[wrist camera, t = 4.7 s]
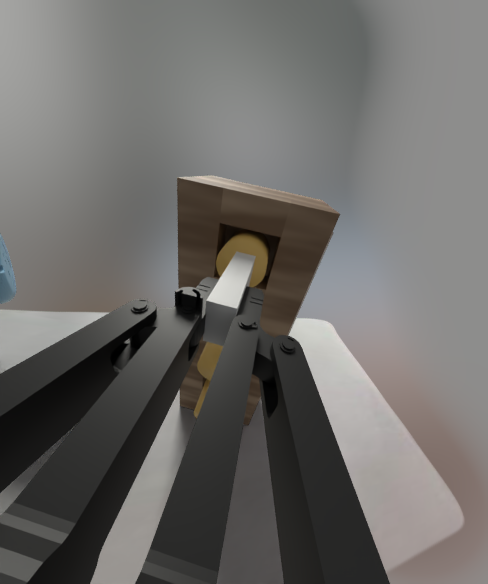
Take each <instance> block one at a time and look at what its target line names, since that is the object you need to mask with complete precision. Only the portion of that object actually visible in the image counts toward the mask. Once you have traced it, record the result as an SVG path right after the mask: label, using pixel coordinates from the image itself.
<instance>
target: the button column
mask: <svg viewBox="0 0 488 584" xmlns="http://www.w3.org/2000/svg"><path fill="white" fill-rule="evenodd" d="M177 186H178V187H177V195H178V279H179V288H182V287H194V288H196V287H197V286H198V285H199V283H200V282H201V281H202V280H203V279H205V278H207V277H211V278H215V279H218V280H219V279H220V276H219V274H218V271H217V268H216V260H217V256H218V254H219V252H220V251H221V249H222V248H223V247H224V246H225V244H226V243H227V242H228V241H229V239H230V238H231V237H232V236H233V235H234V234H235V233H236V232H237V231H239V230H242V229H248V230H252V231H256V232H260V233H262V234H263V235H264V236H265V238H266V239H267V241H268V243H269V248H270V251H269V257H268V263H267V268H266V273H265V276H264V278H263V280H262V281H261V282H260V283H259V284H258V285H256V286H254V287H252V288H256V289H260V290H262V291H263V294H264V300H263V305H262V311H261V317H260V326H261V328H262V329H263V330H264V331H265V332H266V333H267V334H269V335H270V336H272V337H274V338H275V337H276V336H278V335H287V336H288V335H289V333H290V331H291V328H292V326H293V324H294V321H295V319H296V317H297V315H298V312H299V310H300V308H301V305H302V303H303V301H304V299H305V296H306V294H307V292H308V290H309V287H310V285H311V283H312V280H313V278H314V276H315V274H316V271H317V269H318V267H319V264H320V262H321V260H322V258H323V255H324V253H325V251H326V248H327V246H328V244H329V242H330V239H331V237H332V235H333V229H334V227H335V225H336V222H337V220H338V218H339V216H340V214H339V213H338V212H336V211H335V210H334V209H333V208H331V207H330V206H329V205H327V204H326V203H325V202H324V201H322V200H319V199H314V198H310V197H306V196H301V195H296V194H292V193H288V192H283V191H279V190H274V189H270V188H265V187H261V186H256V185H252V184H247V183H243V182H238V181H233V180H229V179H225V178H220V177H216V176H196V177H179V178H178V177H177ZM206 343H207V342H206V341H203V336H202V338H201V340H200V346H199V349H198V351H197V354H196V356H195V358H194V360H193V362H192V364H191V366H190V368H189V370H188V372H187V374H186V376H185V378H184V380H183V382H182V384H181V386H180V406H183V407H186V408H190V409H193V410H195V408H196V405H197V402H198V400H199V397H200V394H201V392H202V389H203V386H204V384H205V381H206V380H207V379H206V378H205V377H203V376H202V375H201V374H200V372H199V371H198V368H197V363H198V361H199V359H200V356H201V354H202V352H203V350H204V348H205V345H206ZM260 399H261V392H260V384H259V378H258V377H256V376H255V375H253V374H252V376H251V382H250V388H249V394H248V400H247V405H246V411H245V417H244V423H243V424H245V425H249V422H250V420H251V418H252V416H253V413H254V411H255V409H256V406H257V404H258V402H259V400H260Z"/></svg>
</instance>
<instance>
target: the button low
mask: <svg viewBox="0 0 488 584" xmlns="http://www.w3.org/2000/svg"><path fill="white" fill-rule="evenodd" d="M209 384H210V380H208V379H207V380H206V381H205V384H204V386H203V389H202V392H201V394H200V397H199V400H198V402H197V405H196V408H195V410H194V416H195V417H196V418H197V417H198V414H199V412H200V409H201V406H202V403H203V401H204V398H205V395H206V392H207V389H208V387H209Z"/></svg>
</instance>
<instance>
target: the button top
mask: <svg viewBox="0 0 488 584" xmlns="http://www.w3.org/2000/svg"><path fill="white" fill-rule="evenodd" d="M269 251H270V248H269V243H268V241H267V239H266V238H265V236H264V235H263V234H262V233H260V232H256V231H252V230H248V229H242V230H239V231H237V232H236V233H235V234H234V235H233V236H232V237H231V238H230V239H229V241H228V242H227V243H226V244H225V246H224V247H223V248H222V249H221V251H220V252H219V254H218V256H217V260H216V268H217V271H218V274H219V276H220V277H221V276H222V274H223V273H224V271H225V269H226V268H227V266H228V265H229V263H230V261H231V260H232V258H233V256H234V255H235V253H236V252H241V253H245V254H249V255H253V256H256V258H255V262H254V266H253V271H252V275H251V279H250V284H249V287H254V286H256V285H258V284H259V283H260V282H261V281H262V280H263V278H264V276H265V273H266V268H267V263H268V257H269Z"/></svg>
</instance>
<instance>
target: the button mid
mask: <svg viewBox="0 0 488 584" xmlns="http://www.w3.org/2000/svg"><path fill="white" fill-rule="evenodd" d="M222 348H223V346H221V345H217V344H214V343H210V342H207V343H206V345H205V348H204V350H203V352H202V354H201V356H200V359H199V361H198V363H197V368H198V371H199V372H200V374H201V375H202V376H203V377H205V378H206V379H208V380H210V381H211V378H212V376H213V373H214V370H215V367H216V365H217V362H218V359H219V356H220V354H221V351H222Z"/></svg>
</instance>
